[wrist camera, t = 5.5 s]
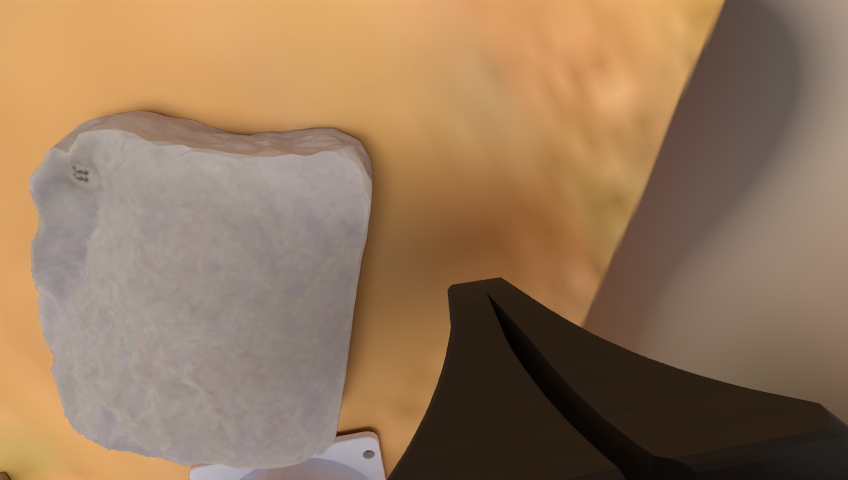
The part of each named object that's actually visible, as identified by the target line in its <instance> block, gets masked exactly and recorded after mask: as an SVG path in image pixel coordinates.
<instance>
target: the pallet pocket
mask: <svg viewBox="0 0 848 480" xmlns="http://www.w3.org/2000/svg"><path fill="white" fill-rule="evenodd" d="M0 480H10V479H9V478H8V476H7V475H6V473H5V472H4V473H0Z"/></svg>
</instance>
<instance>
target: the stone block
mask: <svg viewBox="0 0 848 480" xmlns="http://www.w3.org/2000/svg"><path fill="white" fill-rule="evenodd" d="M30 193H31V196H32V198H33V201H34V203H35V206H36V209H37V211H38V214H39V230H38V232H37V234H36V235H35V237H34V239H33V241H32V244H31V260H32V268H31V270H32V277H33V280H34V282H35V286H36V289H37V290H38V291H39V292H40V293H39V315H38V317H39V320H40V323H41V326H42V329H43V335H44V338H45V342H46V344H47V345H48V347H49V349H50V350H51V352H52V353H53V355H54V363H53V365H52V367H51V371H52V373H53V376H54V379H55V382H56V385H57V389H58V393H59V396H60V400H61V404H62V406H63V409H64V414H65V416H66V417H67V418H68V420H69V422H70V425H71V426H72V427H73V428H74V430H75V431H77V432H78V433H79V434H83V435H84V436H85V438H87V439H89V440H91V441H93V442H95V443H97V444H99V445H100V446H102V447H104V448H106V449H108V450H117V451H123V452H132V453H136V454H140V455H144V456H147V457H156V458H162V459H165V460H169V461H172V462H175V463H178V464H181V465H184V466H187V465H192V464H198V463H205V464H215V463H219V464H222V465H225V466H229V467H233V468H237V469H242V468H257V469H272V468H279V467H287V466H292V465H297V464H300V463H303V462H305V461H306V460H308V459H309V458H310V457H312V456H313V455H314V454H316V455H322V454H324V452H325V451H326V450H327V449H328V448H329V447H330V446H332V445H333V444H334V443H335V441H336V432H337V428H338V422H339V416H340V411H341V405H342V397H343V391H344V385H345V378H346V371H347V363H348V354H349V346H350V338H351V330H352V321H353V312H354V306H355V299H356V293H357V287H358V281H359V275H360V267H361V260H362V256H363V251H364V247H365V244H366V239H367V234H368V224H369V218H370V211H371V198H372V167H371V159H370V157H369V155H368V153H367V151H366V149H365V148H364V146H363V145H362V143H361V142H360V141H359V140H357V139H355V138H353V137H351V136H349V135H347V134H345V133H343V132H341V131H339V130H337V129H335V128H311V129H306V130H292V131H286V132H258V133H255V134H252V135H242V134H232V133H229V132H226V131H223V130H220V129H216V128H213V127H209V126H207V125H205V124H203V123H200V122H198V121H195V120H190V119H183V118H173V117H168V116H163V115H161V114H158V113H154V112H146V111H130V112H127V113H119V114H115V115H113V116H106V117H100V118H97V119H93V120H90V121H88V122H85V123H83V124H81V125H79V126H77V127H76V128H75V129H74V130H73V131H72V132H71V133H70V134H68V135H67V136H66V137H65V138H63V139H62V140H61V141H60V142H59V143H58V144H56V145H55V146H54V147H52V148H51V149H50V150H48V151H47V153H46V155H45V157H44V159H43V161H42V163H41V164H40V165H39V166H38V168H37V169H36V170H35V172H34V173H33V175H32V176H31V178H30Z"/></svg>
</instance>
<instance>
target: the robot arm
mask: <svg viewBox="0 0 848 480" xmlns="http://www.w3.org/2000/svg"><path fill="white" fill-rule="evenodd" d="M448 300H449V311H450V322H451V331H450V337H449V342H448V347H447V352H446V357H445V361H444V364H443V368H442V371H441V375H440V378H439V381H438V384H437V387H436V389H435V392H434V394H433V397H432V399H431V402H430V404H429V407H428V409H427V411H426V413H425V415H424V418H423V420H422V421H421V423H420V425H419V427H418V429H417V431H416V433H415V435H414V437H413V439H412V440H411V442H410V444H409V446H408V448H407V449H406V451H405V453H404V454H403V456H402V457H401V459H400V460H399V462H398V463H397V465H396V466H395V468H394V469H393V471H392V472H391V474H390V475H389V477H388V479H387V480H848V426H847V425H846V424H845V423H843V422H842V421H841V420H840V419H838V418H837V417H836V416H834V415H833V414H832V413H831V412H830V411H828V410H827V409H826V408H824V407H823V406H822V405H821V404H819V403H815V402H810V401H805V400H801V399H796V398H791V397H786V396H782V395H777V394H772V393H767V392H762V391H758V390H753V389H748V388H744V387H740V386H736V385H733V384H729V383H725V382H721V381H718V380H714V379H711V378H707V377H703V376H700V375H697V374H693V373H690V372H687V371H684V370H681V369H678V368H675V367H672V366H669V365H666V364H664V363H660V362H658V361H655V360H652V359H649V358H647V357H644V356H641V355H639V354H637V353H634V352H631V351H629V350H627V349H625V348H622V347H620V346H618V345H616V344H613V343H611V342H609V341H606V340H604V339H602V338H600V337H598V336H596V335H594V334H592V333H590V332H588V331H586V330H585V329H583V328H581V327H579V326H577V325H575V324H574V323H572V322H570V321H568V320H566V319H565V318H563V317H561V316H560V315H558V314H556V313H555V312H553V311H551V310H550V309H548V308H546V307H545V306H543V305H542V304H540V303H539V302H537V301H536V300H534V299H532V298H531V297H530V296H528V295H527V294H525V293H524V292H522V291H521V290H519V289H518V288H516V287H515V286H513V285H512V284H510V283H509V282H507V281H506V280H504V279H502V278H501V277H500V278H493V279H487V280H480V281H474V282H467V283H461V284H454V285H451V286H450V288H449V289H448ZM367 450H372V451H370V452H366V451H367ZM189 478H190V480H386V477H385V472H384V466H383V461H382V456H381V450H380V445H379V440H378V437H377V435H376V434H375V433H373V432H370V431H366V432H360V433H354V434H349V435H343V436H338V437H336V441H335V443H334V444H333V445H332V446H330V447H329V448H328V449H327V450H326V451H325V452H324V454H322V455H316V454H314V455H313V456H312V457H310V458H309V459H308V460H306V461H305V462H303V463H300V464H297V465H292V466H287V467H279V468H272V469H257V468H242V469H237V468H233V467H229V466H225V465H222V464H219V463H215V464H205V463H198V464H193V465H192V468H191V470H190V473H189Z"/></svg>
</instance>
